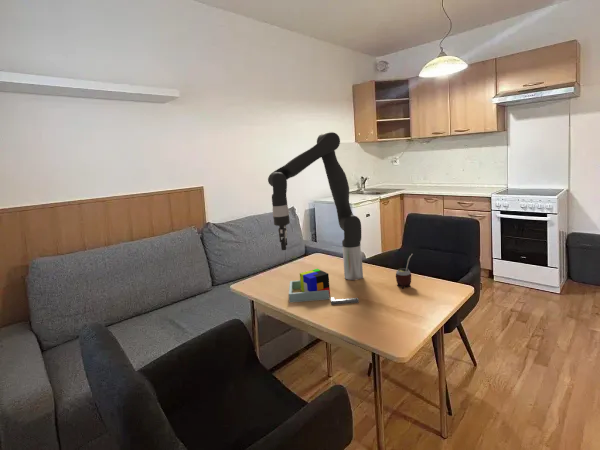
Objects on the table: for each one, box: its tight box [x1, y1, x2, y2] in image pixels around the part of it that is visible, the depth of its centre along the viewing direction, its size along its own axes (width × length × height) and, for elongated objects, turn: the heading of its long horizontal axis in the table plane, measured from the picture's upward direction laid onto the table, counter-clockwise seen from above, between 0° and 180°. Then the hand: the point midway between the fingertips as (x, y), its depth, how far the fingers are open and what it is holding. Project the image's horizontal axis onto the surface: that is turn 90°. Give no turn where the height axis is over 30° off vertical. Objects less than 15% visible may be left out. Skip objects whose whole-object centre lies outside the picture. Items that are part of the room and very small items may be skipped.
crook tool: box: [330, 296, 360, 306], centre depth 169 cm, size 12×4×2 cm, turn 89°
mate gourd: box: [395, 253, 414, 289], centre depth 179 cm, size 8×8×15 cm
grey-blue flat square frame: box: [288, 280, 330, 303], centre depth 181 cm, size 18×17×4 cm
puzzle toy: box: [299, 268, 331, 295], centre depth 181 cm, size 10×10×10 cm
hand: (284, 247), depth 183 cm, fingers open, 8 cm apart
